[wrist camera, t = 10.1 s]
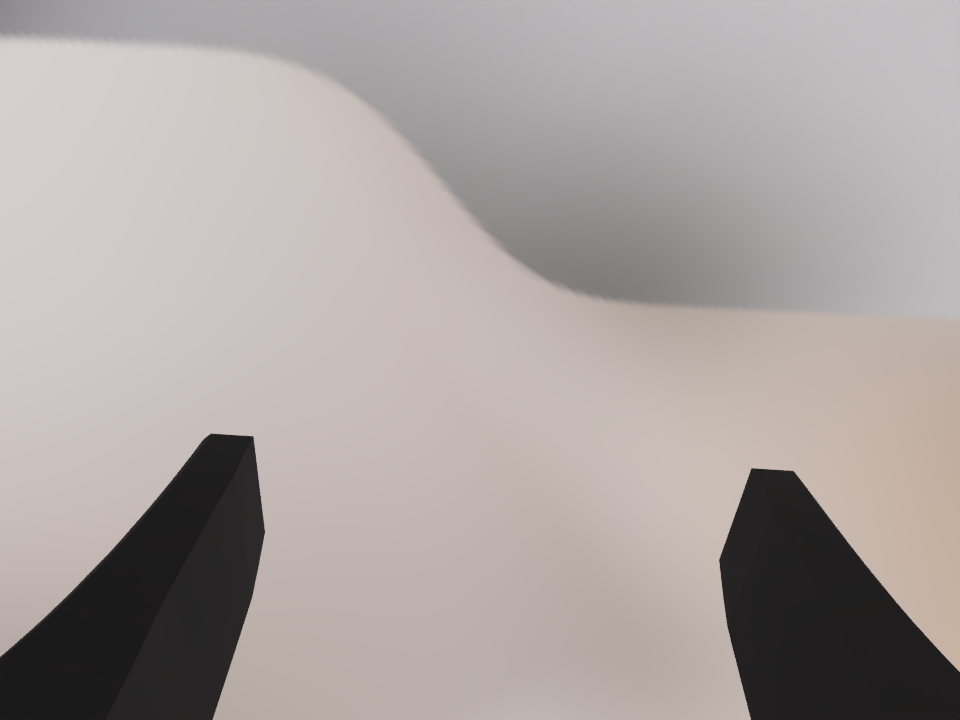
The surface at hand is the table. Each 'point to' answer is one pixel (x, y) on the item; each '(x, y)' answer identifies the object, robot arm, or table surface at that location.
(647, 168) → the table surface
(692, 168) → the table surface
